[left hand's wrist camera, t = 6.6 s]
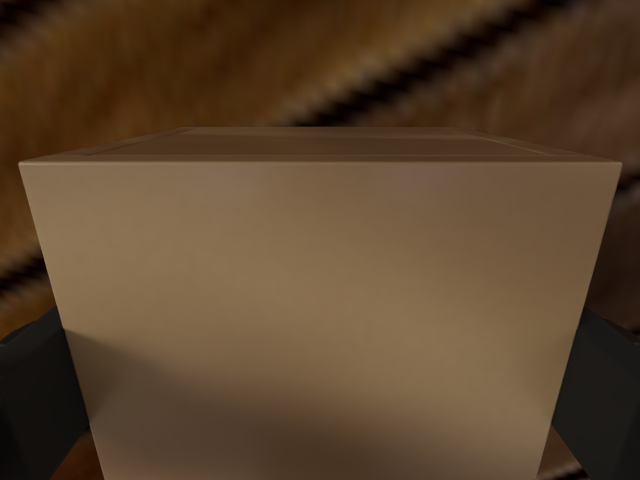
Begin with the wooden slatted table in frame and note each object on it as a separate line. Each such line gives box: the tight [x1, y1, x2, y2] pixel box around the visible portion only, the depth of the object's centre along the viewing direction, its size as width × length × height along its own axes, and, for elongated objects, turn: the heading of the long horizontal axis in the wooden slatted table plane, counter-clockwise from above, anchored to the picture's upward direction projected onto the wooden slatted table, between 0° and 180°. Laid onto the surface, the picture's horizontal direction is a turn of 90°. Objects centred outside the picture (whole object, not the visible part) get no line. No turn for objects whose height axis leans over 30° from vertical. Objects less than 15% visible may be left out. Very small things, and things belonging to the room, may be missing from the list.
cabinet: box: [19, 127, 623, 480], centre depth 14 cm, size 16×11×9 cm
